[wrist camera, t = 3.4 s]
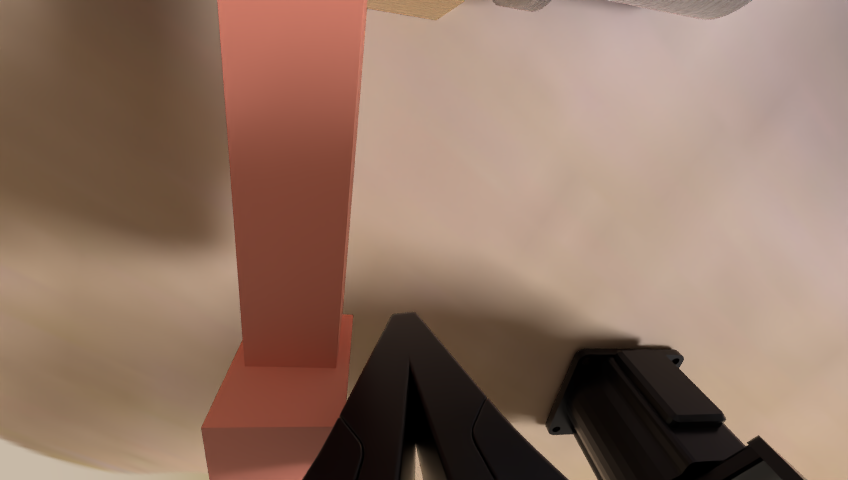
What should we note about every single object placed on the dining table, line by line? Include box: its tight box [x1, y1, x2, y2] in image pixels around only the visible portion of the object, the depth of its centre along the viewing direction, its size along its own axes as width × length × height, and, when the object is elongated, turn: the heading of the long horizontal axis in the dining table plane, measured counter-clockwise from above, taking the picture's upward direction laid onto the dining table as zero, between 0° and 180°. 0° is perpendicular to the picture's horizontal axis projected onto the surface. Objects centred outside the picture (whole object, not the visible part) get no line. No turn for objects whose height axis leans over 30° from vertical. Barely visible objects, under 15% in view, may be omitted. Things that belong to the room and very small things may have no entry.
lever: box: [201, 0, 367, 480], centre depth 6 cm, size 15×4×4 cm, turn 171°
